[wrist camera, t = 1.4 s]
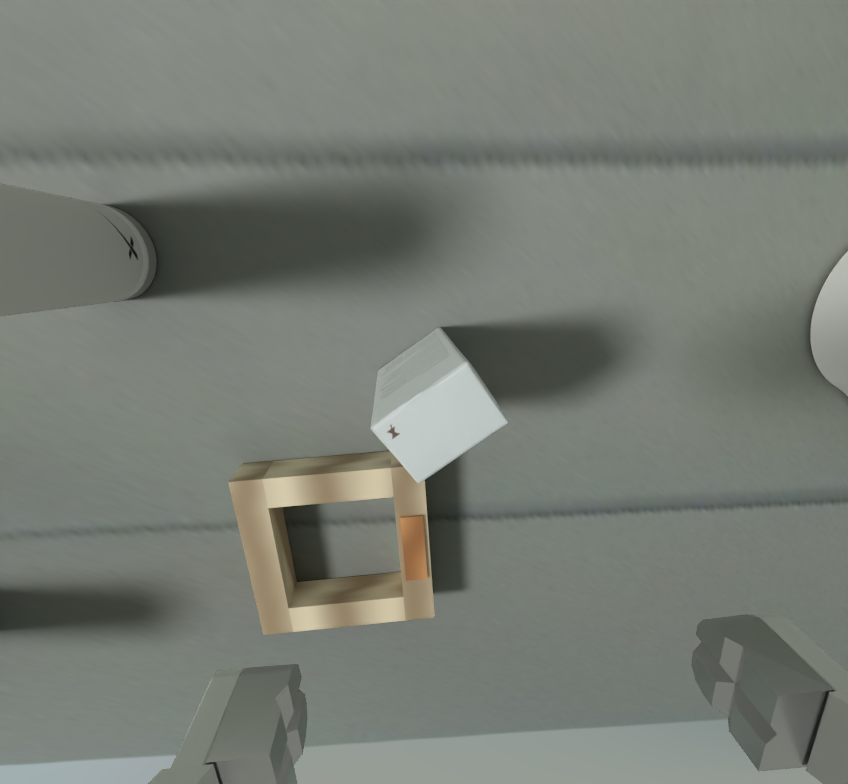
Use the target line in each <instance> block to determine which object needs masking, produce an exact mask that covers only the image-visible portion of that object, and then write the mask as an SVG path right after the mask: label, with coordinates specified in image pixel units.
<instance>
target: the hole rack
mask: <svg viewBox="0 0 848 784" xmlns="http://www.w3.org/2000/svg"><path fill="white" fill-rule="evenodd" d="M228 483H229V487H230V492H231V496H232V500H233V505H234V509H235V513H236V518H237V522H238V526H239V531H240V535H241V539H242V544H243V548H244V552H245V557H246V561H247V565H248V570H249V574H250V578H251V583H252V587H253V591H254V596H255V600H256V604H257V609H258V613H259V618H260V622H261V626H262V631H263V635H267V634H277V633H287V632H297V631H306V630H316V629H326V628H336V627H345V626H355V625H365V624H375V623H384V622H394V621H404V620H414V619H423V618H433V617H435V616H434V602H433V588H432V574H431V560H430V546H429V532H428V518H427V504H426V490H425V480H424V481H422V482H421V483H417V482H416V481H415V480H414V479H413V477H412V476H411V475H410V474H409V473H408V472H407V470H406V469H405V468H404V467H403V466H402V465H401V463H400V462H399V461H398V460H397V459H396V458H395V456H394V455H393V454H392V453H391V452H390V451H385V452H373V453H361V454H349V455H338V456H326V457H314V458H303V459H291V460H279V461H268V462H256V463H244V464H242V465H241V466H240V468H239V469H238V470H237V472H236V473H235V474H234V475H233V477H232V478H231V479H230V481H229V482H228ZM387 497H394V506H395V516H396V526H397V536H398V547H399V557H400V567H401V572H395V573H385V574H374V575H364V576H354V577H344V578H333V579H323V580H313V581H303V582H297V580H296V575H295V570H294V565H293V559H292V554H291V549H290V544H289V538H288V533H287V528H286V523H285V517H284V512H283V507H288V506H299V505H310V504H321V503H332V502H343V501H354V500H365V499H376V498H387Z"/></svg>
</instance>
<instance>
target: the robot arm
mask: <svg viewBox="0 0 848 784" xmlns="http://www.w3.org/2000/svg"><path fill="white" fill-rule="evenodd" d="M810 337H811V348H812V353H813V357H814V360H815V362H816V364H817V366H818V368H819V370H820V371H821V373H822V374H823V376H824V377H825V378H826V379H827V380H828V381H829V382H830V383H832V384H833V385H834V386H836V387H837V388H839V389H840V390H842V391H843V392H844V393H845V394H846V395H847V396H848V251H847V252H846V253H845V255H844V256H843V257H842V258H841V259H840V261H839V262H838V263H837V264H836V266H835V267H834V269H833V270H832V272H831V273H830V275H829V276H828V278H827V280H826V281H825V283H824V285H823V287H822V289H821V292H820V294H819V296H818V299H817V302H816V305H815V308H814V312H813V316H812V322H811V333H810ZM696 635H697V637H698V638H699V639H700V640H701V643H700V645H699V646H698V647H697V648H696V649H695V650H694V651H693V656H692V668H693V672H694V676H695V680H696V682H697V684H698V686H699V688H700V690H701V692H702V693H703V695H704V696H705V698H706V699H707V701H708V702H709V703H710V705H711V706H712V707H713V708H715V709H716V710H718V711H719V712H721V713H722V714H724V715H725V716H727V717H728V723H729V731H730V732H731V734H732V735H733V737H734V738H735V739H736V741H737V742H738V743H739V745H740V746H741V748H742V749H743V750H744V752H745V753H746V754H747V756H748V757H749V759H750V760H751V761H752V763H753V764H754V766H755V767H756V768H757V770H758V771H767V770H778V769H790V768H801V767H807V768H806V771H807V772H809V773H810V774H811V775H812V776H814V777H815V778H816V779H818V780H819V781H820V782H822V783H823V784H848V672H847V671H846V670H845V669H844V668H843V667H842V666H840V665H839V664H838V663H837V662H836V661H835V660H834V659H833V658H831V657H830V656H829V655H828V654H827V653H826V652H825V651H824V650H822V649H821V648H820V647H819V646H818V645H817V644H816V643H815V642H813V641H812V640H811V639H810V638H809V637H808V636H807V635H806V634H804V633H803V632H802V631H801V630H800V629H799V628H798V627H797V626H795V625H794V624H793V623H792V622H791V621H790V620H789V619H788V618H786V617H785V616H783V615H781V614H779V613H777V612H769V613H759V614H751V615H747V614H746V615H738V616H730V617H721V618H713V619H705V620H702V621H701V622H700V623H699V624H698V626H697V632H696ZM300 682H301V673H300V669H299V665H298V664H290V665H277V666H264V667H251V668H241V669H230V670H219V671H218V672H217V673H216V674H215V675H214V676H213V678H212V679H211V680H210V683H209V685H208V687H207V689H206V691H205V694H204V696H203V698H202V700H201V702H200V705H199V707H198V709H197V711H196V714H195V716H194V718H193V720H192V722H191V725H190V727H189V729H188V731H187V733H186V736H185V738H184V740H183V742H182V745H181V747H180V749H179V751H178V753H177V756H176V758H175V760H174V762H173V765H172V767H171V769H164V770H161V771H160V772H159V773H158V774H157V775H156V776H155V777H154V778H153V779H152V780H151V781H150V782H149V783H148V784H297V780H296V775H295V770H294V764H295V763H296V762H297V760H298V759H299V758H300V756H301V755H302V754H303V749H304V743H305V738H306V727H307V703H306V698H305V694H304V693H303V692H302V691H300V690H299V686H300Z"/></svg>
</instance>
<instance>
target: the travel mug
mask: <svg viewBox="0 0 848 784" xmlns="http://www.w3.org/2000/svg"><path fill="white" fill-rule="evenodd" d="M156 262H157V259H156V253H155V249H154V246H153V243H152V241H151V239H150V237H149V235H148V234H147V232H146V231H145V229H144V228H143V227H142V226H141V225H140V223H139V222H137V221H136V220H135V219H134V218H133V217H132V216H130V215H129V214H127V213H125V212H124V211H122V210H120V209H117V208H115V207H112V206H107V205H102V204H97V203H93V202H88V201H83V200H78V199H73V198H69V197H64V196H59V195H54V194H49V193H45V192H40V191H35V190H30V189H25V188H21V187H16V186H11V185H6V184H1V183H0V316H6V315H14V314H22V313H30V312H38V311H46V310H54V309H61V308H69V307H77V306H85V305H93V304H101V303H108V302H117V301H124V300H129V299H132V298H135V297H137V296H139V295H140V294H142V293H143V292H144V291H146V289H147V288H148V287H149V286H150V285H151V283H152V281H153V279H154V276H155V272H156Z"/></svg>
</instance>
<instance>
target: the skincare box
mask: <svg viewBox="0 0 848 784" xmlns="http://www.w3.org/2000/svg"><path fill="white" fill-rule="evenodd" d="M507 423H508V419H507V417H506V416H505V414H504V413H503V411H502V409H501V408H500V406H499V405H498V403H497V402H496V400H495V399H494V397H493V396H492V394H491V393H490V391H489V390H488V388H487V387H486V385H485V384H484V382H483V381H482V379H481V378H480V376H479V375H478V373H477V372H476V371H475V369H474V368H473V366H472V365H471V363H470V362H469V361H468V360H467V359H466V358H465V356H464V355H463V354H462V353H461V352H460V351H459V349H458V348H457V347H456V346H455V344H454V343H453V342H452V341H451V339H450V338H449V337H448V336H447V334H446V333H445V332H444V331H443V329H442V328H440V327H439V328H437V329H436V330H434V331H433V332H432V333H430V334H429V335H427V336H426V337H425V338H423V339H422V340H420V341H419V342H418V343H416V344H415V345H413V346H412V347H410V348H409V349H408V350H406V351H405V352H404V353H402V354H401V355H399V356H398V357H397V358H395V359H394V360H392V361H391V362H390V363H388V364H387V365H385V366H384V367H383V368H381V369H380V370H379V371H378V375H377V384H376V392H375V399H374V407H373V414H372V421H371V430H372V431H373V432H374V433H375V434H376V436H377V437H378V438H379V439H380V440H381V441H382V442H383V444H384V445H385V446H386V447H387V448H388V449H389V451H390V452H391V453H392V454H393V455H394V456H395V458H396V459H397V460H398V461H399V462H400V463H401V465H402V466H403V467H404V468H405V469H406V470H407V472H408V473H409V474H410V475H411V476H412V477H413V479H414V480H415V481H416V482H417V483H421V482H422V481H424V480H425V479H427V478H428V477H430V476H431V475H433V474H434V473H435V472H437V471H438V470H440V469H441V468H443V467H444V466H446V465H447V464H449V463H450V462H452V461H453V460H455V459H456V458H458V457H459V456H460V455H462V454H463V453H465V452H466V451H468V450H469V449H470V448H472V447H473V446H475V445H476V444H478V443H479V442H481V441H482V440H484V439H485V438H486V437H488V436H489V435H491V434H492V433H494V432H495V431H497V430H498V429H500V428H501V427H503V426H504V425H506V424H507Z"/></svg>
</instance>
